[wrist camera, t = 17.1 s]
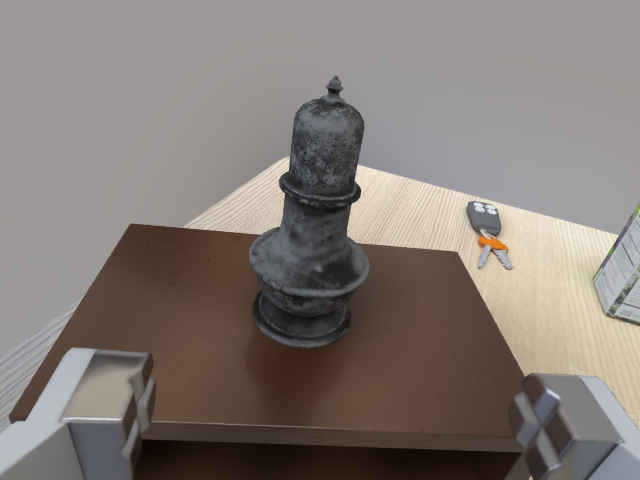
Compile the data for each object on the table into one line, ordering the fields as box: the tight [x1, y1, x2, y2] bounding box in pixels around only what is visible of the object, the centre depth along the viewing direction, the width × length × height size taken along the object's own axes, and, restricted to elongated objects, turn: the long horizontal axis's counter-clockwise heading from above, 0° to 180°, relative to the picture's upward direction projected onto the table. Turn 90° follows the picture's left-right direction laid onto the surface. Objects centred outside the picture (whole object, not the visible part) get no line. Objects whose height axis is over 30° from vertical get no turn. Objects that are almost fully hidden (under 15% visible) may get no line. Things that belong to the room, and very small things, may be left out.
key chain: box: [467, 201, 513, 269], centre depth 46 cm, size 13×4×2 cm, turn 169°
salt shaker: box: [249, 76, 370, 349], centre depth 20 cm, size 6×6×12 cm
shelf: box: [9, 224, 531, 480], centre depth 25 cm, size 22×14×7 cm, turn 92°
